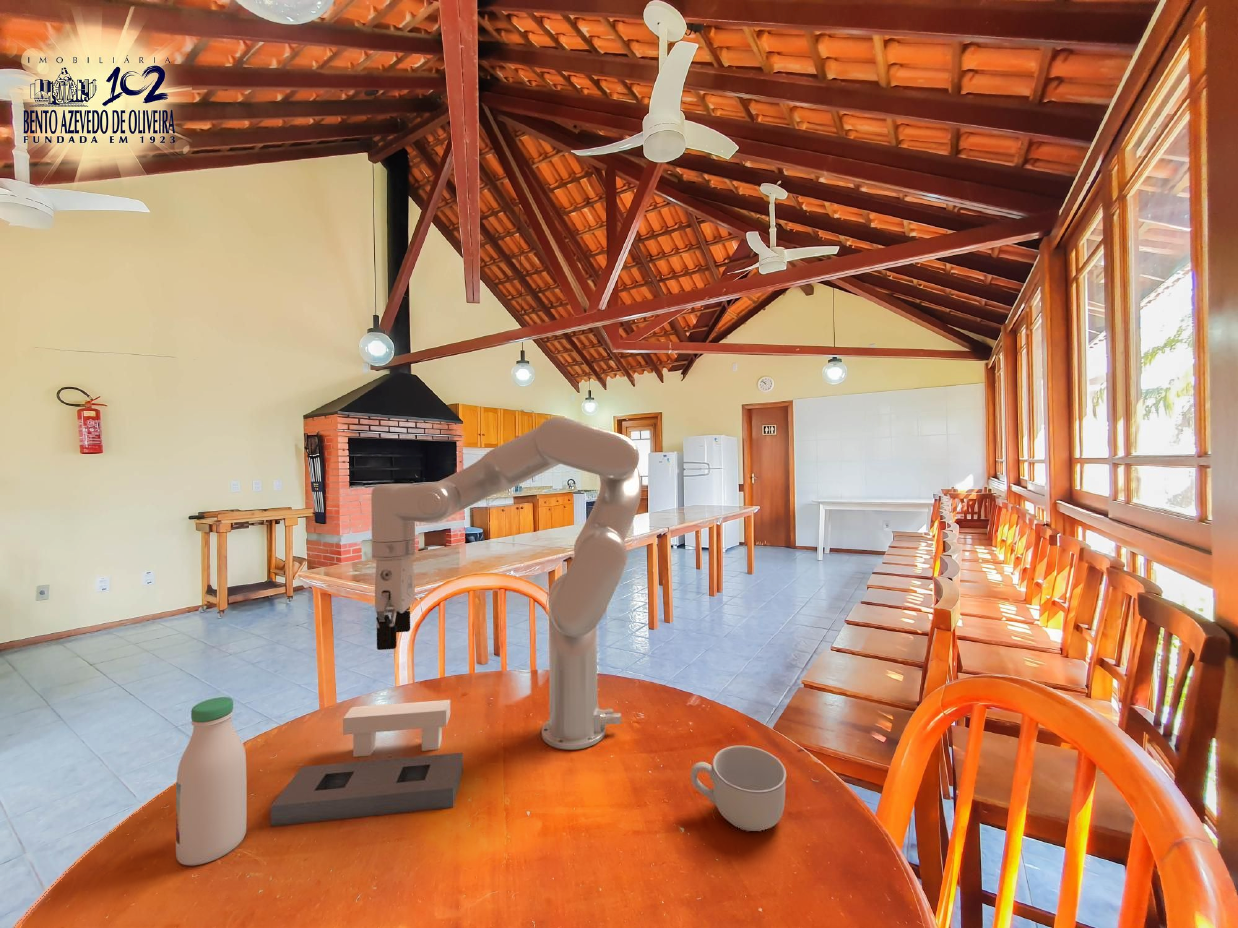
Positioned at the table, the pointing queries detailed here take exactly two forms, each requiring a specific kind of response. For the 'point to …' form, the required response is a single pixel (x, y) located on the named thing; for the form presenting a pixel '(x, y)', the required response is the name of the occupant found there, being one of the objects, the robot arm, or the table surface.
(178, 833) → the milk bottle
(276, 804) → the grey base board
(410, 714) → the white peg bar
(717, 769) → the teacup
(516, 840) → the table surface
